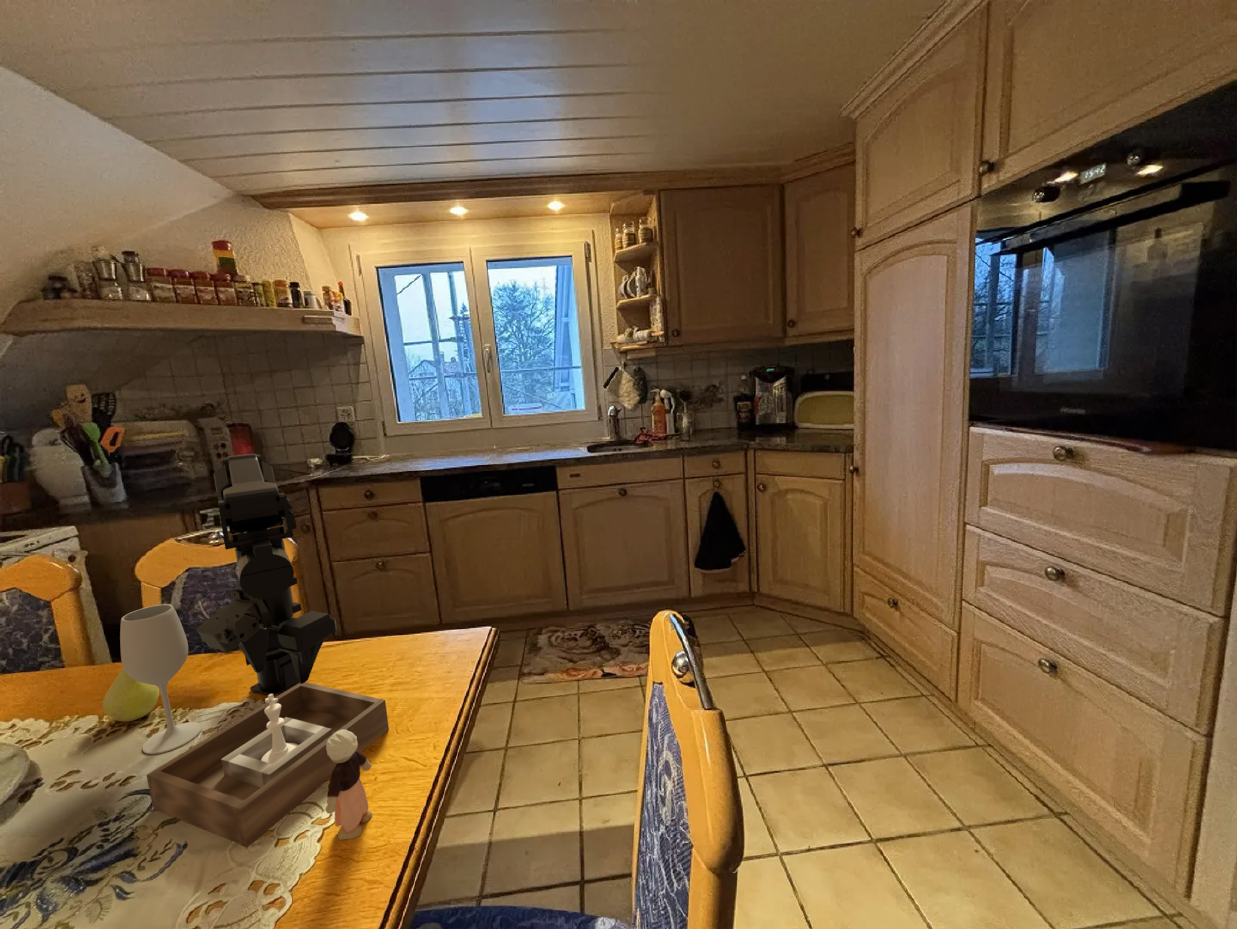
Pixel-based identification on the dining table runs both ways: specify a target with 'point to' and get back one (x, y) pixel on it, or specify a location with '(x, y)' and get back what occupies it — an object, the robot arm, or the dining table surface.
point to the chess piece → (276, 732)
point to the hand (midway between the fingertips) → (281, 676)
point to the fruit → (129, 698)
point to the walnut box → (263, 763)
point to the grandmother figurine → (347, 785)
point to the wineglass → (157, 665)
